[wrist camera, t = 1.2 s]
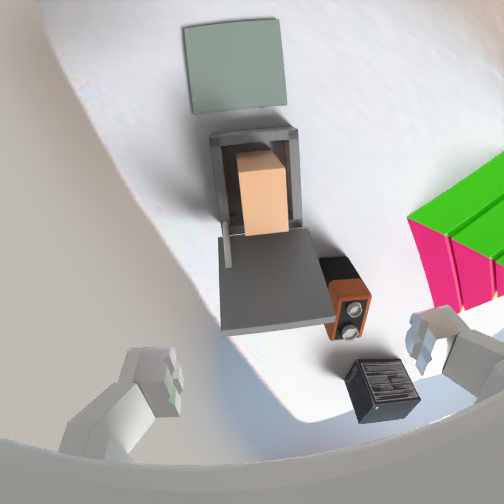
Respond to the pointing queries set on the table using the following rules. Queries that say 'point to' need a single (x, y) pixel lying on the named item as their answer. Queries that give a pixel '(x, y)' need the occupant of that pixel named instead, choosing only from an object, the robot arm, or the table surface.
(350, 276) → the battery
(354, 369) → the small box
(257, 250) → the equipment case
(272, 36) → the rubber mat
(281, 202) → the block
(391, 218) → the table surface
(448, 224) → the pyramid toy
